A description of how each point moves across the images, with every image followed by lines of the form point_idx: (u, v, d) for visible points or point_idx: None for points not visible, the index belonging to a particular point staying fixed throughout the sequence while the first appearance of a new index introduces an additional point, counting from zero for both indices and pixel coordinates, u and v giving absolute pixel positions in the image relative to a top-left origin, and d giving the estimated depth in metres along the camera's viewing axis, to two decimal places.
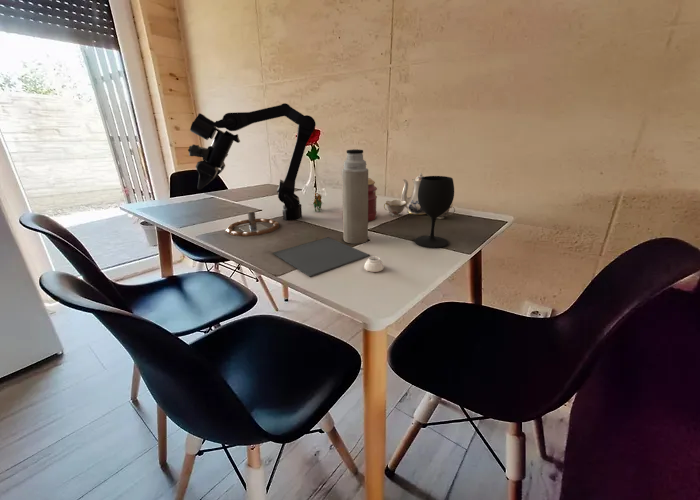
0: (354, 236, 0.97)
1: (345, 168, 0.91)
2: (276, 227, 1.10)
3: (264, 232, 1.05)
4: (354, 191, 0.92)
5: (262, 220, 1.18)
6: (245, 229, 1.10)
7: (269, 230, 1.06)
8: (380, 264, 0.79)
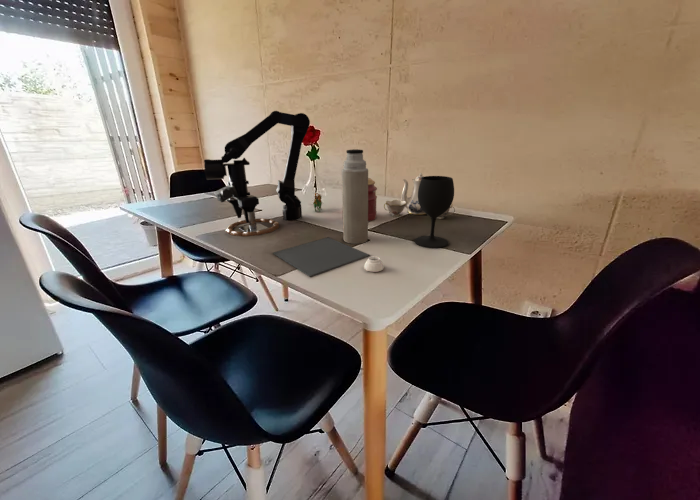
0: (354, 236, 0.97)
1: (345, 168, 0.91)
2: (276, 227, 1.10)
3: (264, 232, 1.05)
4: (354, 191, 0.92)
5: (262, 220, 1.18)
6: (245, 229, 1.10)
7: (269, 230, 1.06)
8: (380, 264, 0.79)
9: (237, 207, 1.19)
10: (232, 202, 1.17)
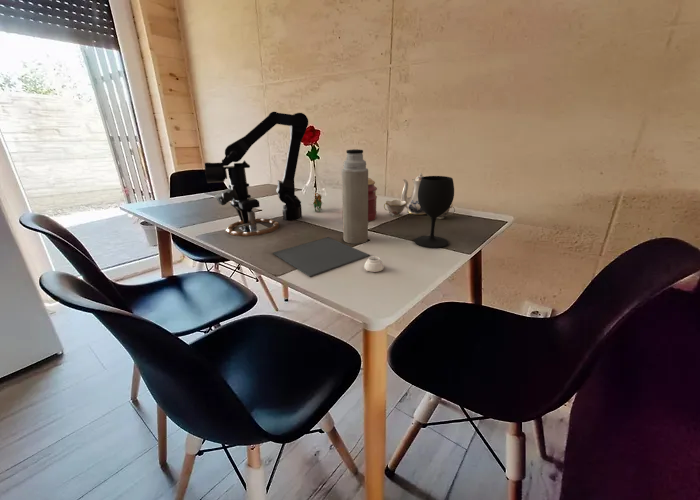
0: (354, 236, 0.97)
1: (345, 168, 0.91)
2: (276, 227, 1.10)
3: (264, 232, 1.05)
4: (354, 191, 0.92)
5: (262, 220, 1.18)
6: (245, 229, 1.10)
7: (269, 230, 1.06)
8: (380, 264, 0.79)
9: None
10: (236, 206, 1.15)
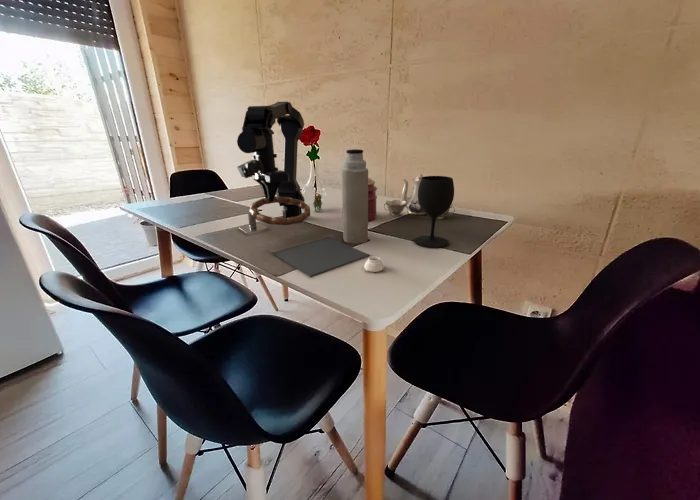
0: (354, 236, 0.97)
1: (345, 168, 0.91)
2: (308, 214, 0.95)
3: (295, 220, 0.90)
4: (354, 191, 0.92)
5: (290, 200, 1.02)
6: (245, 229, 1.10)
7: (301, 218, 0.91)
8: (380, 264, 0.79)
9: None
10: (260, 181, 0.99)
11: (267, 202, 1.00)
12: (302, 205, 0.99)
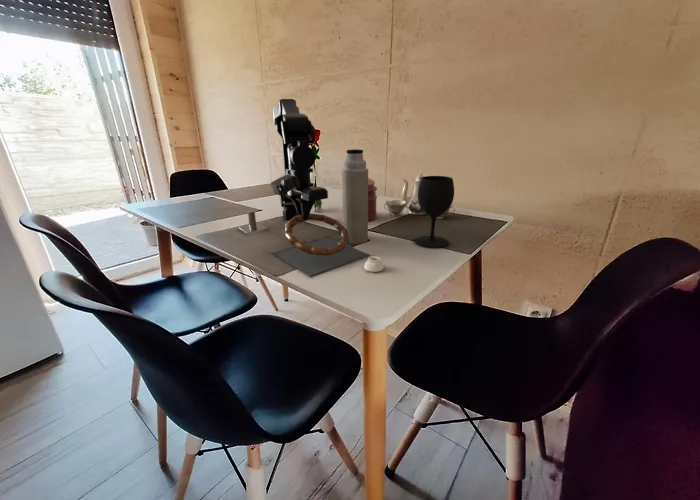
0: (354, 236, 0.97)
1: (345, 168, 0.91)
2: (348, 241, 0.87)
3: (336, 250, 0.83)
4: (354, 191, 0.92)
5: (325, 219, 0.93)
6: (245, 229, 1.10)
7: (341, 247, 0.84)
8: (380, 264, 0.79)
9: (299, 205, 0.92)
10: (294, 198, 0.90)
11: (301, 220, 0.91)
12: (339, 227, 0.91)
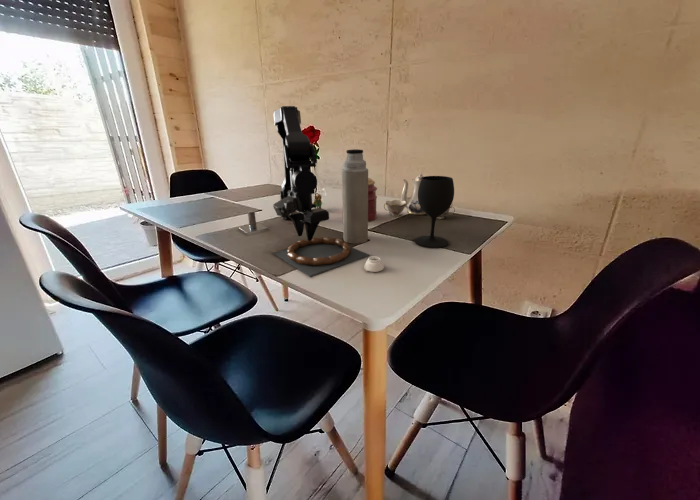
0: (354, 236, 0.97)
1: (345, 168, 0.91)
2: (349, 250, 0.88)
3: (338, 258, 0.83)
4: (354, 191, 0.92)
5: (326, 239, 0.96)
6: (245, 229, 1.10)
7: (343, 255, 0.84)
8: (380, 264, 0.79)
9: (298, 223, 0.95)
10: (293, 217, 0.94)
11: (302, 245, 0.94)
12: (340, 243, 0.93)
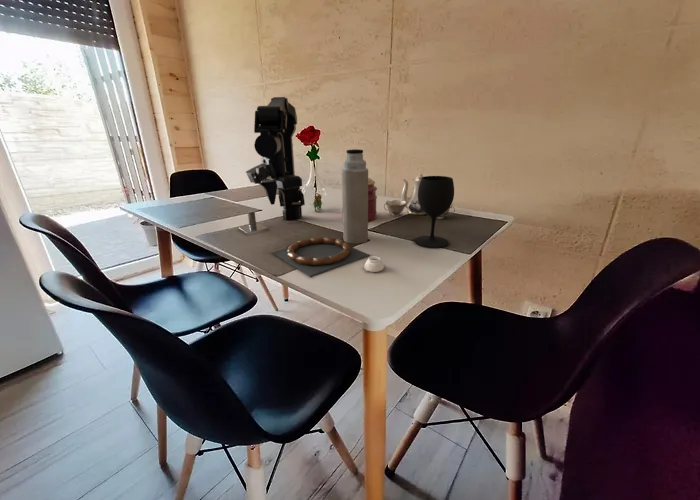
0: (354, 236, 0.97)
1: (345, 168, 0.91)
2: (349, 250, 0.88)
3: (338, 258, 0.83)
4: (354, 191, 0.92)
5: (326, 239, 0.96)
6: (245, 229, 1.10)
7: (343, 255, 0.84)
8: (380, 264, 0.79)
9: (271, 191, 0.97)
10: (265, 185, 0.95)
11: (302, 245, 0.94)
12: (340, 243, 0.93)
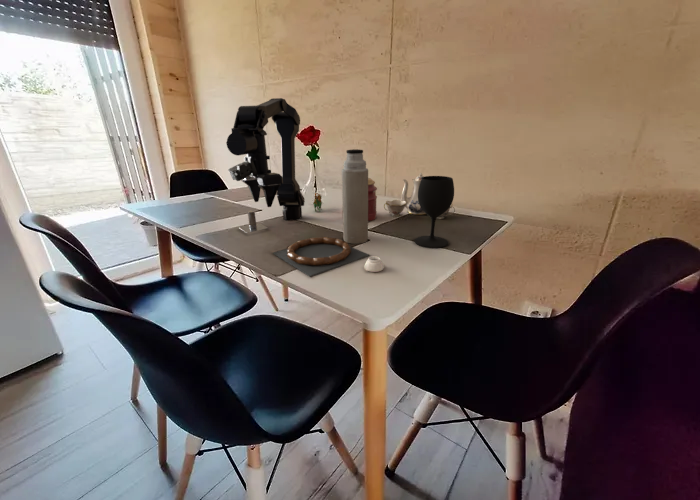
0: (354, 236, 0.97)
1: (345, 168, 0.91)
2: (349, 250, 0.88)
3: (338, 258, 0.83)
4: (354, 191, 0.92)
5: (326, 239, 0.96)
6: (245, 229, 1.10)
7: (343, 255, 0.84)
8: (380, 264, 0.79)
9: (254, 189, 1.00)
10: (248, 182, 0.98)
11: (302, 245, 0.94)
12: (340, 243, 0.93)
